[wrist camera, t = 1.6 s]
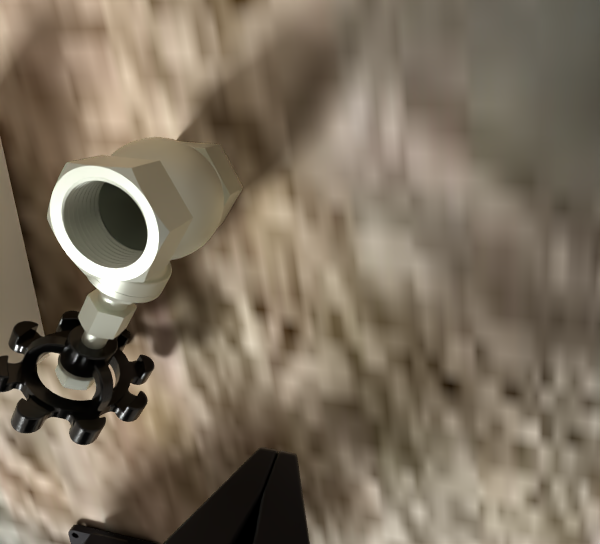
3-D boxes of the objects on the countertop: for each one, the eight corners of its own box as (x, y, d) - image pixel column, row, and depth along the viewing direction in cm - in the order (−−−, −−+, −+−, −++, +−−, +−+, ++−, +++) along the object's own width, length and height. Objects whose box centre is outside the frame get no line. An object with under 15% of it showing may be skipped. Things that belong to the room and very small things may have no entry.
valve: (153, 91, 16) (64, 304, 22) (19, 86, 10) (-61, 383, 16) (291, 187, 17) (172, 374, 22) (237, 235, 11) (90, 478, 16)
